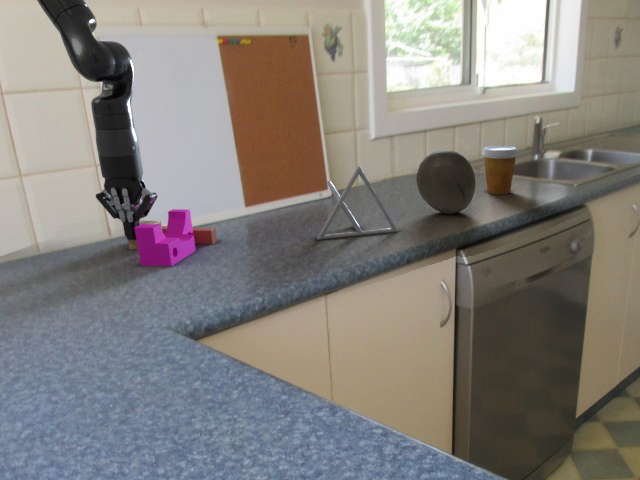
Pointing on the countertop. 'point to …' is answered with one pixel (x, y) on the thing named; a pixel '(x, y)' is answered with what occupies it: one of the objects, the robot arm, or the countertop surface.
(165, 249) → the toy block
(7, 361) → the countertop surface
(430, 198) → the dark grey ball
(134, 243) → the beech cube
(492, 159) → the disposable coffee cup
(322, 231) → the wire frame
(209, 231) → the rail
